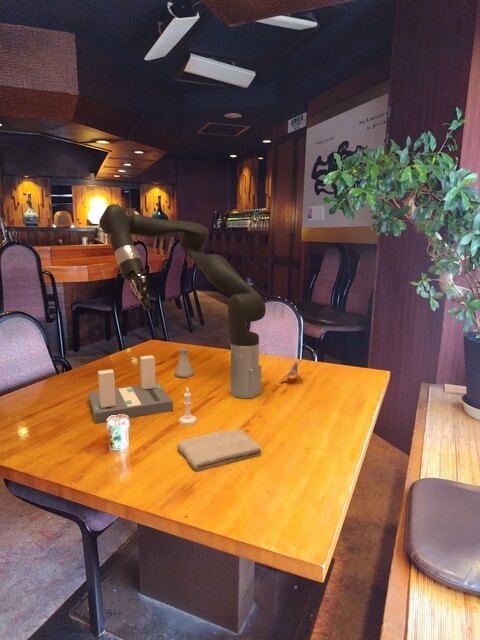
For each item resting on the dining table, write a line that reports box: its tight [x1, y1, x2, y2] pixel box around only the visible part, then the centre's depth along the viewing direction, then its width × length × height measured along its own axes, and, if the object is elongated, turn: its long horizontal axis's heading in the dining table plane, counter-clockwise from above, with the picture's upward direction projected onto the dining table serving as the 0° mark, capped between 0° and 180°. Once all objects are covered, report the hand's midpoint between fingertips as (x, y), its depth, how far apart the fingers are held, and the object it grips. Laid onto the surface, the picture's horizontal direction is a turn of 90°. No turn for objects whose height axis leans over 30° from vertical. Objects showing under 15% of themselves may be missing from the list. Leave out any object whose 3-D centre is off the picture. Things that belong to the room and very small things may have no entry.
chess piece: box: [178, 386, 197, 426], centre depth 120 cm, size 5×5×10 cm
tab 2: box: [139, 355, 157, 390], centre depth 138 cm, size 3×4×10 cm
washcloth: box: [176, 429, 262, 472], centre depth 104 cm, size 12×18×3 cm, turn 118°
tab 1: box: [97, 368, 116, 408], centre depth 123 cm, size 3×4×10 cm
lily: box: [280, 358, 304, 384], centre depth 153 cm, size 11×11×9 cm
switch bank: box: [87, 382, 174, 424], centre depth 132 cm, size 18×22×3 cm
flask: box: [173, 348, 195, 379], centre depth 160 cm, size 7×7×10 cm
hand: (148, 309), depth 139 cm, fingers closed
